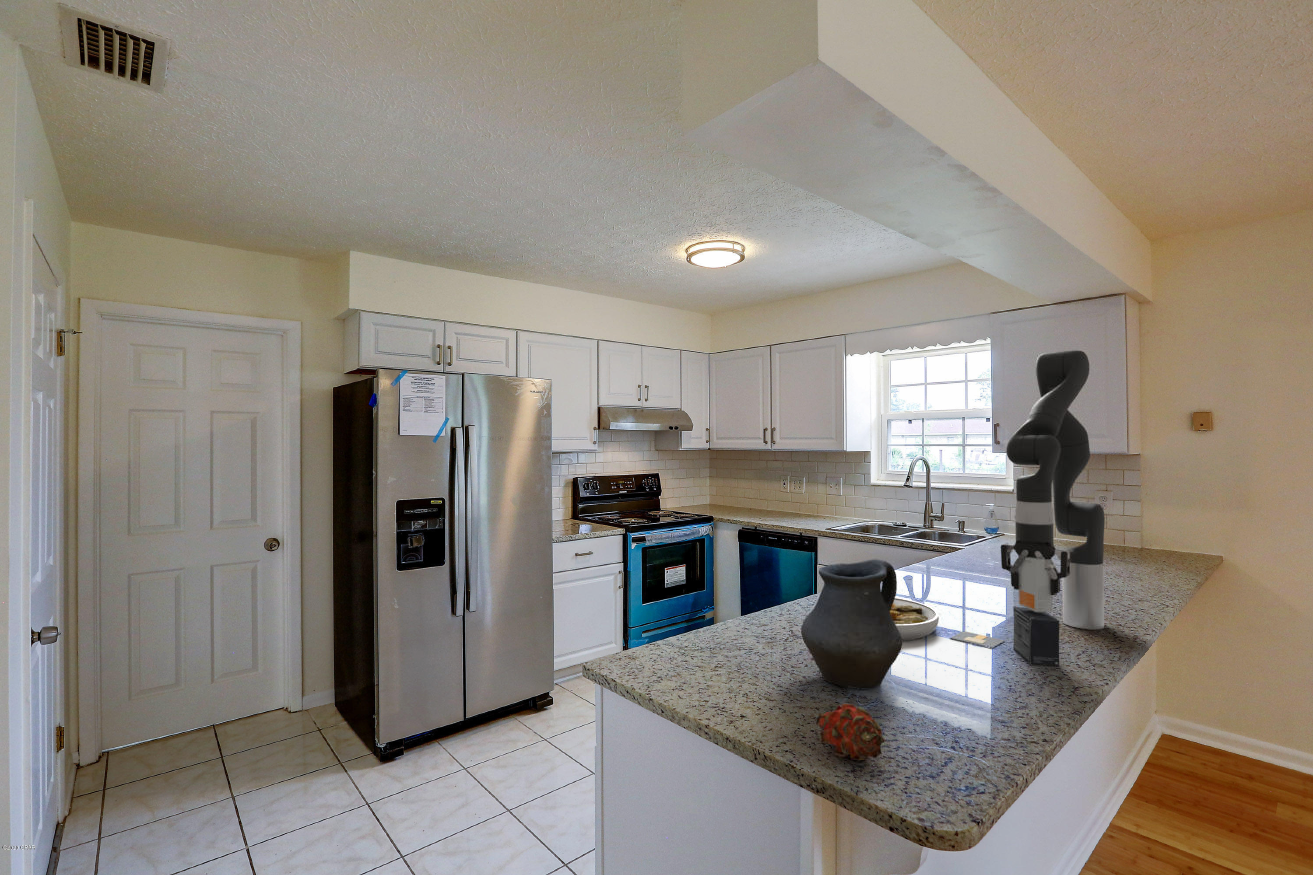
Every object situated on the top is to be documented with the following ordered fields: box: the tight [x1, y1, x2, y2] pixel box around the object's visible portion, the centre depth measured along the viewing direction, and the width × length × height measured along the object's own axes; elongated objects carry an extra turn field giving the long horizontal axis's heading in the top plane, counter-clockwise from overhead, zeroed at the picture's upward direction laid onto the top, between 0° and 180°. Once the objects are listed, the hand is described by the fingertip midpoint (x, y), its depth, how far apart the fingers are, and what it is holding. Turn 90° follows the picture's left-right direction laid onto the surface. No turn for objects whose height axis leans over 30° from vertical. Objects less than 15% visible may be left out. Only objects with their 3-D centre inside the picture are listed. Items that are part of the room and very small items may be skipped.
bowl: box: [890, 597, 940, 641], centre depth 167 cm, size 30×30×8 cm
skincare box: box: [1017, 555, 1053, 613], centre depth 142 cm, size 6×4×12 cm
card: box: [950, 631, 1006, 649], centre depth 155 cm, size 8×10×1 cm
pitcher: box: [800, 558, 904, 690], centre depth 130 cm, size 21×22×25 cm
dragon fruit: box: [815, 702, 886, 762], centre depth 99 cm, size 8×8×12 cm
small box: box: [1012, 606, 1060, 667], centre depth 142 cm, size 11×6×10 cm, turn 169°
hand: (1035, 591), depth 142 cm, fingers closed on skincare box, 7 cm apart
